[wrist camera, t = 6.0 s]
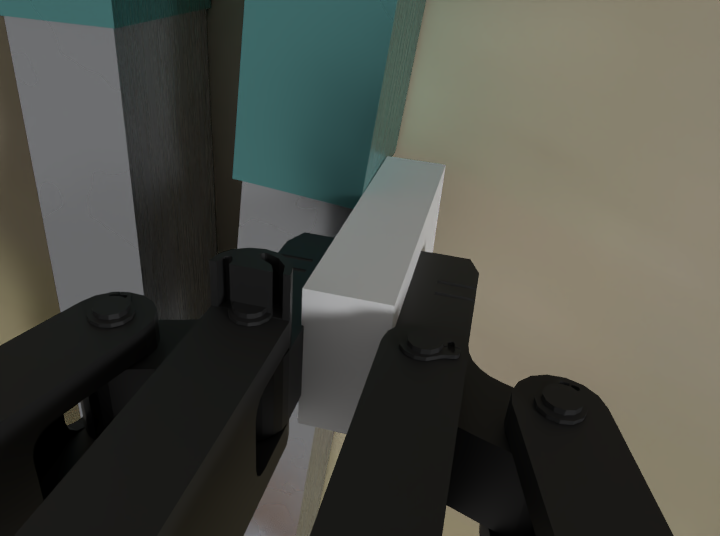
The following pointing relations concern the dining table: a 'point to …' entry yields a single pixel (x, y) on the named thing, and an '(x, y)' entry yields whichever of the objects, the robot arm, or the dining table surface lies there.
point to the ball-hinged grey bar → (120, 145)
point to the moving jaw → (314, 162)
